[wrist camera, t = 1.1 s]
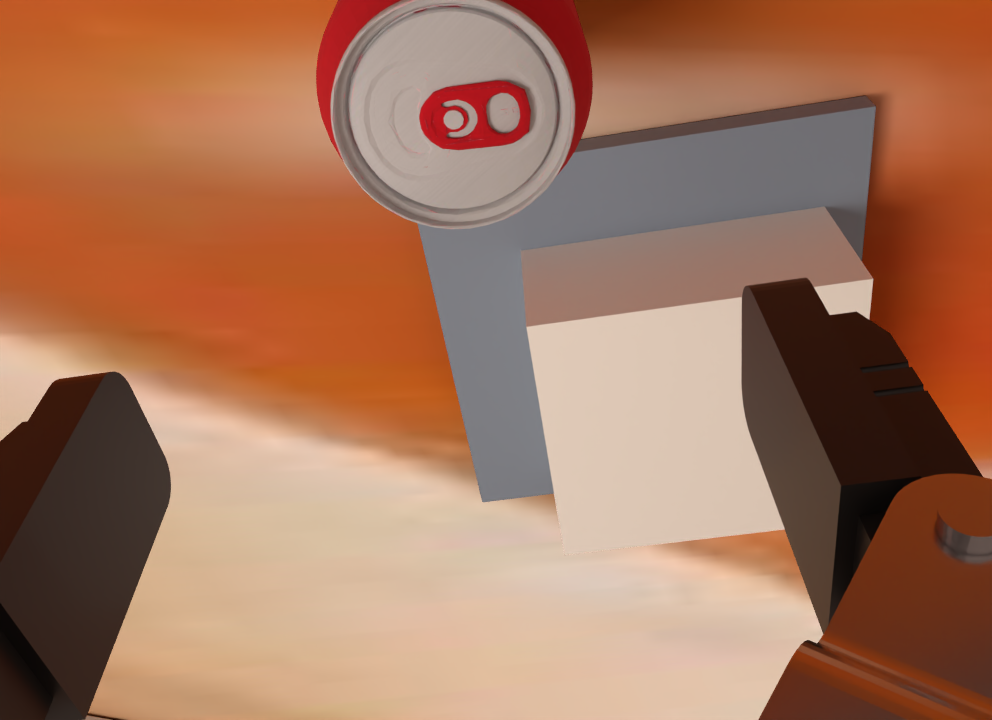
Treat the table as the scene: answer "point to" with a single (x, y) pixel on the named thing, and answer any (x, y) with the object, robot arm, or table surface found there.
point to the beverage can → (454, 102)
